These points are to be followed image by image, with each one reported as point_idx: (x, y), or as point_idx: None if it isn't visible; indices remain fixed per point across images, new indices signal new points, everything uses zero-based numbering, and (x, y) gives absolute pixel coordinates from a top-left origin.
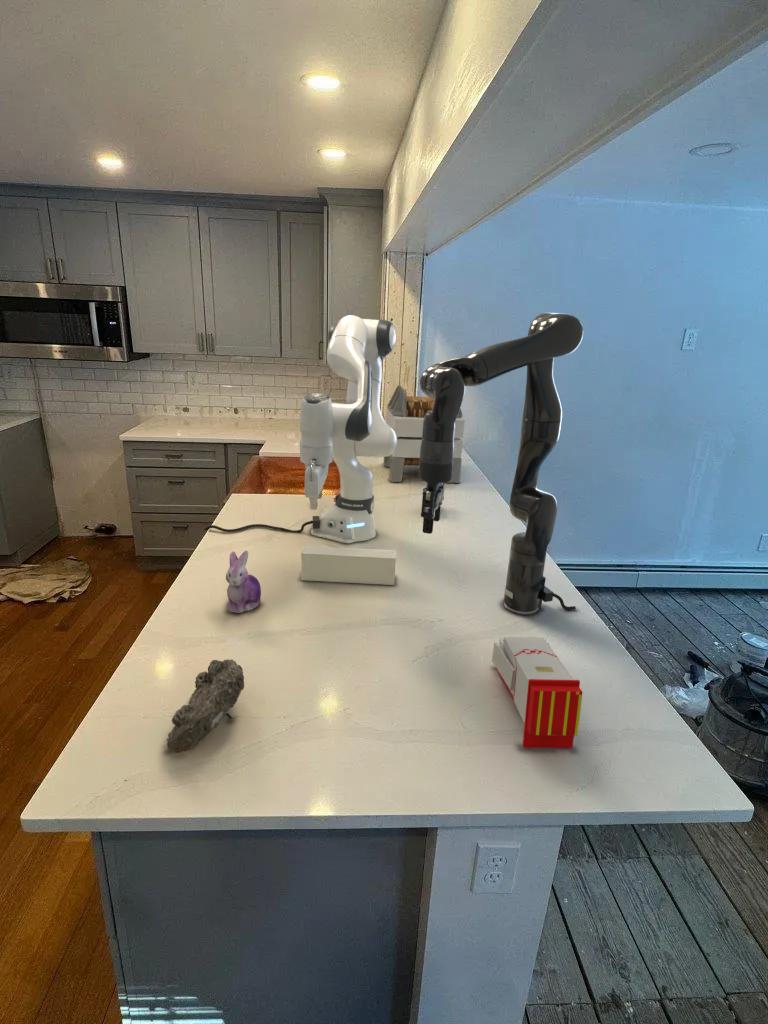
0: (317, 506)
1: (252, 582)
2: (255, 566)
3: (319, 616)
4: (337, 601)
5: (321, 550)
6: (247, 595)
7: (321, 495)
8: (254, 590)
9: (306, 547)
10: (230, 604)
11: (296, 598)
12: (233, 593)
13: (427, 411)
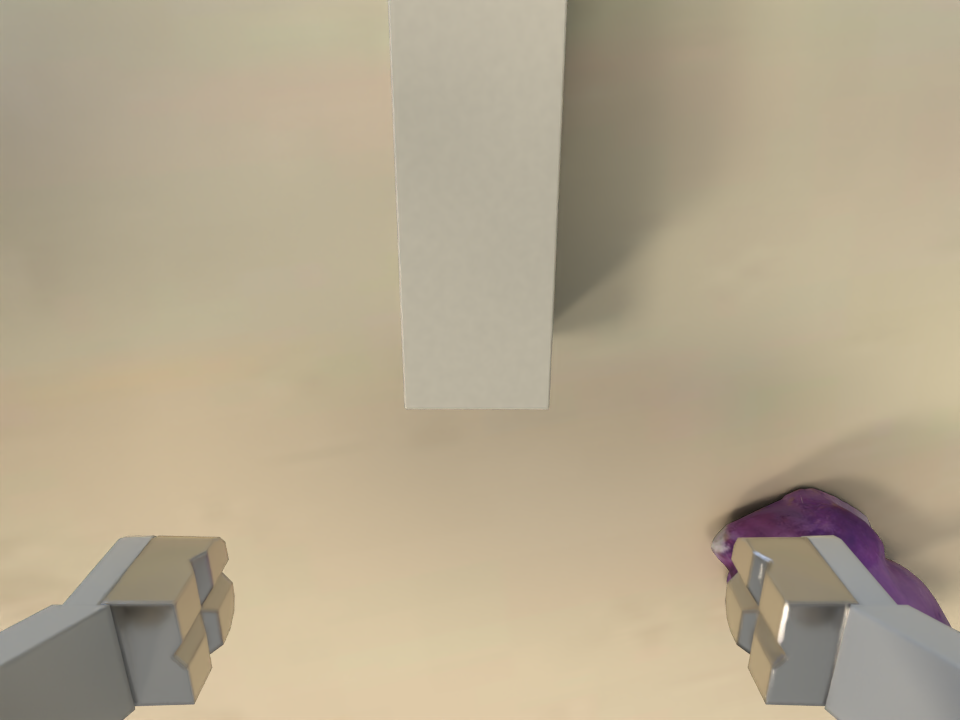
0: (767, 546)
1: None
2: (395, 582)
3: (954, 181)
4: (790, 94)
5: (477, 274)
6: (904, 570)
7: (191, 564)
8: (880, 555)
9: (437, 391)
10: None
11: (743, 332)
12: None
13: None
